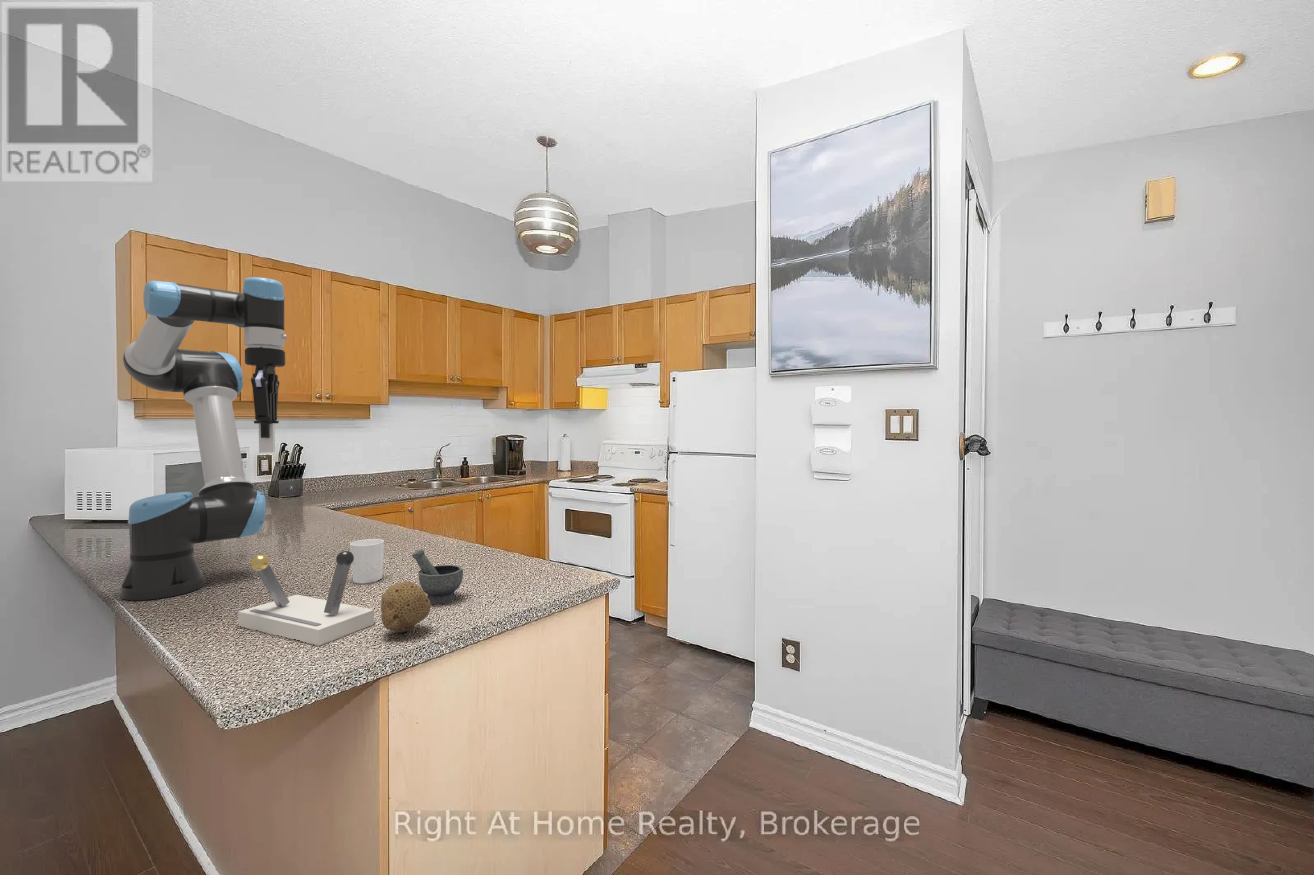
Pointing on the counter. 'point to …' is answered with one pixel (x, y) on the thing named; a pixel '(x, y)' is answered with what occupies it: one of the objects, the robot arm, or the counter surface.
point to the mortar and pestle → (438, 579)
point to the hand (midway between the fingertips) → (267, 452)
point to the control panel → (306, 620)
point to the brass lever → (269, 579)
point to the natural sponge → (404, 606)
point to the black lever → (338, 581)
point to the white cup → (367, 560)
